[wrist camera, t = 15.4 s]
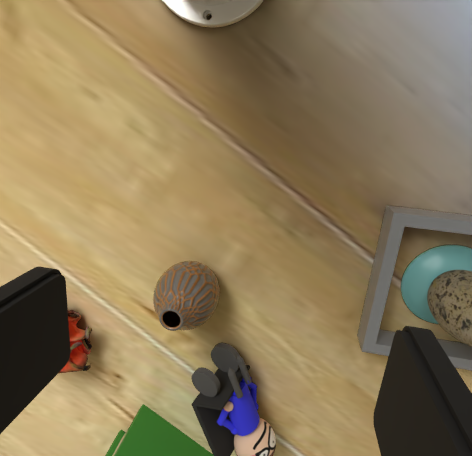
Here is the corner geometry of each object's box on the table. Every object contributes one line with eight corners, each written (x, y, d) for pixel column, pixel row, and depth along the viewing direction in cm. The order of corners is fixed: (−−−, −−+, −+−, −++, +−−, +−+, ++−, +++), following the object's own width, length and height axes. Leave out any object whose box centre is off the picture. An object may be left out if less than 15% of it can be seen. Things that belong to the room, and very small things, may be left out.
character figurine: (247, 330, 43) (279, 426, 46) (191, 342, 44) (228, 435, 48) (242, 373, 35) (281, 484, 39) (175, 387, 36) (220, 493, 40)
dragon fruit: (43, 276, 47) (111, 331, 50) (-9, 327, 45) (65, 381, 48) (33, 283, 39) (114, 348, 42) (-31, 345, 37) (60, 409, 40)
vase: (236, 284, 41) (221, 326, 32) (196, 316, 43) (172, 363, 35) (195, 241, 40) (169, 273, 32) (157, 276, 42) (123, 314, 34)
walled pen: (386, 205, 35) (393, 212, 32) (554, 225, 33) (578, 234, 30) (357, 335, 40) (361, 351, 37) (502, 359, 38) (519, 378, 35)
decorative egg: (490, 294, 36) (559, 357, 26) (434, 319, 38) (479, 386, 28) (463, 248, 35) (524, 295, 25) (406, 276, 37) (444, 329, 27)
